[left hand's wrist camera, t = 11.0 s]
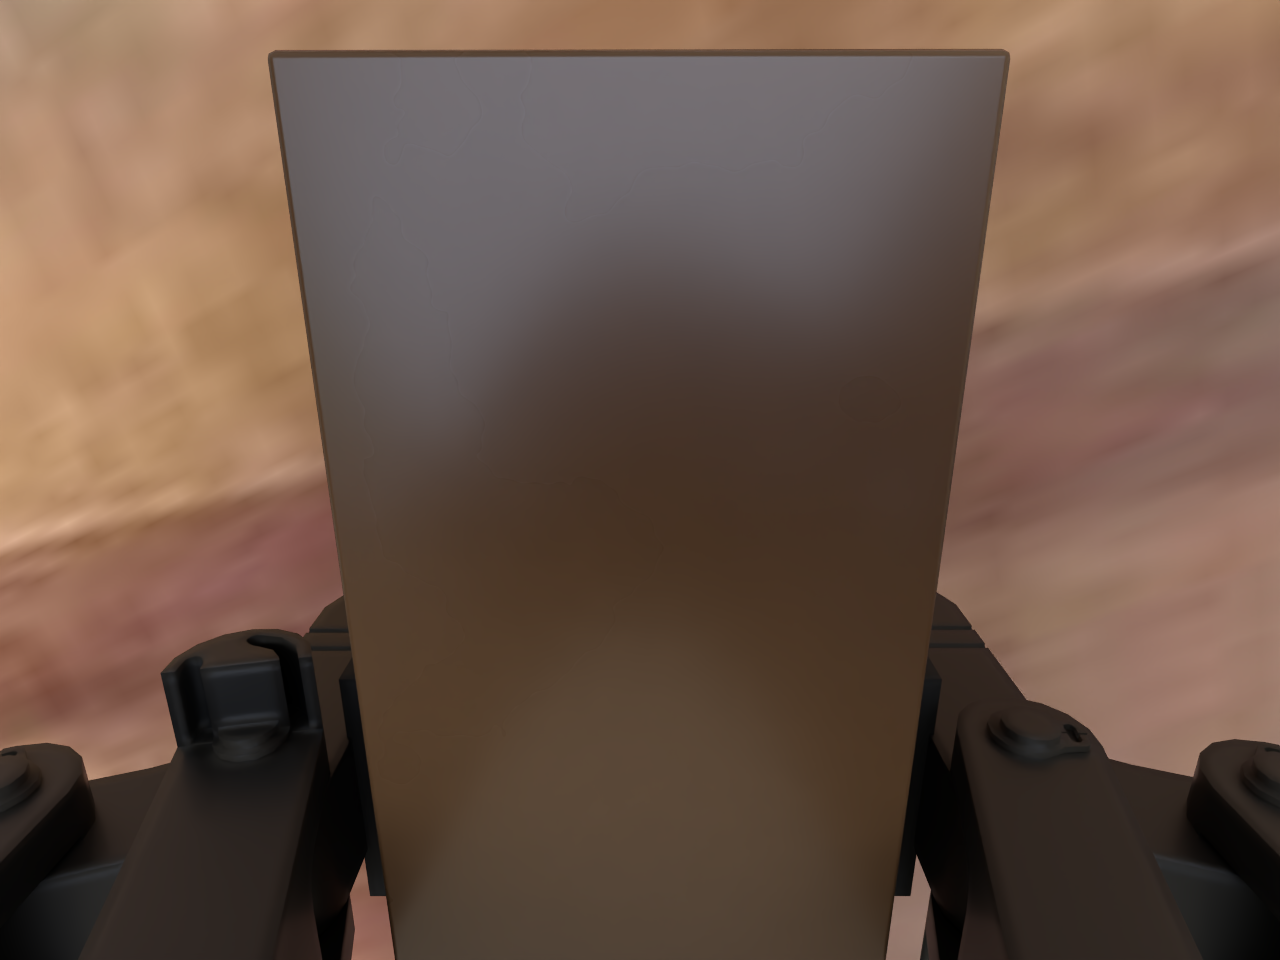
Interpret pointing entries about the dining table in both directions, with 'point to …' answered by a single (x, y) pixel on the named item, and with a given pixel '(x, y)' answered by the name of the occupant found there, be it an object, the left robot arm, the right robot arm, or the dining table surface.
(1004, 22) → the dining table surface
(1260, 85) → the dining table surface
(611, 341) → the bar
